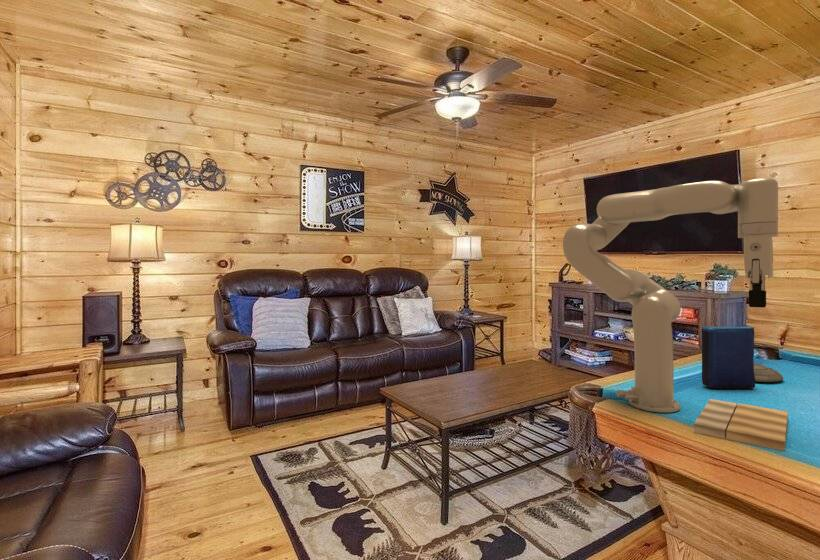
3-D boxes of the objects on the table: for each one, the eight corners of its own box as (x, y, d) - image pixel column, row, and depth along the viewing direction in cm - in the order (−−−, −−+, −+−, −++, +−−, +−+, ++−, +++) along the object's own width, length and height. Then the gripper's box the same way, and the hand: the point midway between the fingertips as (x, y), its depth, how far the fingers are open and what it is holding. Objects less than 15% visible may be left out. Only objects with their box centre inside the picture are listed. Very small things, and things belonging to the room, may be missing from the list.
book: (747, 385, 138) (747, 323, 137) (759, 390, 132) (759, 326, 132) (699, 385, 139) (699, 324, 138) (709, 390, 134) (709, 326, 133)
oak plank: (784, 451, 91) (784, 441, 91) (726, 438, 98) (726, 430, 98) (787, 419, 109) (787, 411, 109) (738, 410, 116) (738, 403, 116)
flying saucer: (728, 371, 157) (728, 356, 156) (782, 377, 147) (782, 361, 147) (725, 380, 145) (725, 364, 145) (784, 387, 135) (784, 370, 135)
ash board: (724, 438, 98) (724, 429, 98) (693, 432, 102) (693, 423, 102) (736, 410, 116) (736, 403, 116) (710, 406, 120) (709, 398, 120)
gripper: (776, 228, 96) (776, 310, 96) (779, 231, 107) (779, 305, 107) (734, 231, 101) (734, 309, 101) (741, 233, 112) (741, 303, 112)
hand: (757, 306), depth 104 cm, fingers closed
